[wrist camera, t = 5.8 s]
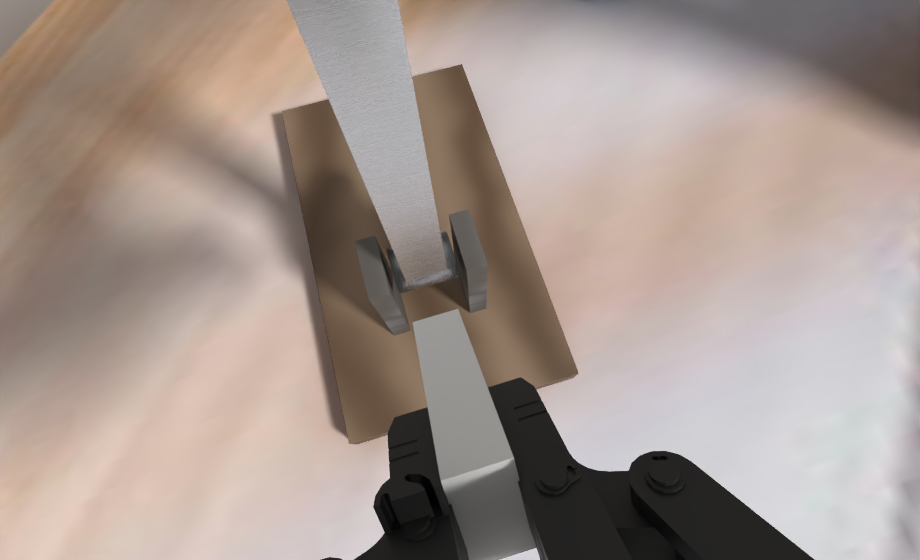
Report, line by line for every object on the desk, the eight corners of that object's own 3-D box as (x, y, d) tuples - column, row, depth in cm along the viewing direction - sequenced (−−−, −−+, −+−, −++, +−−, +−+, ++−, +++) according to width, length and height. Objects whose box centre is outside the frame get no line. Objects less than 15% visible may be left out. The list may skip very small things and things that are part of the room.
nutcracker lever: (428, 182, 32) (303, -469, 10) (461, 289, 30) (396, -260, 7) (375, 197, 32) (120, -433, 9) (404, 305, 29) (145, -206, 7)
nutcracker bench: (462, 80, 45) (457, -27, 35) (573, 377, 35) (609, 346, 25) (290, 126, 44) (234, 29, 34) (356, 444, 34) (305, 438, 24)
